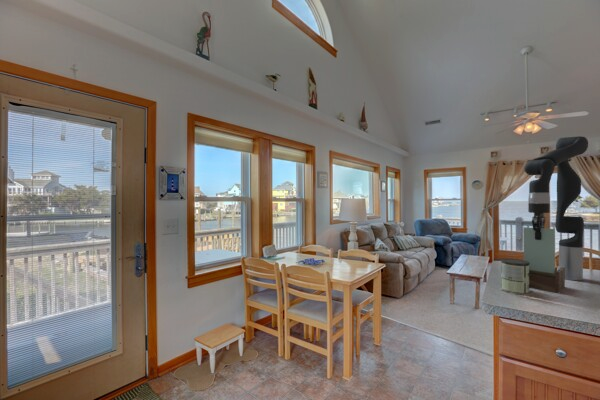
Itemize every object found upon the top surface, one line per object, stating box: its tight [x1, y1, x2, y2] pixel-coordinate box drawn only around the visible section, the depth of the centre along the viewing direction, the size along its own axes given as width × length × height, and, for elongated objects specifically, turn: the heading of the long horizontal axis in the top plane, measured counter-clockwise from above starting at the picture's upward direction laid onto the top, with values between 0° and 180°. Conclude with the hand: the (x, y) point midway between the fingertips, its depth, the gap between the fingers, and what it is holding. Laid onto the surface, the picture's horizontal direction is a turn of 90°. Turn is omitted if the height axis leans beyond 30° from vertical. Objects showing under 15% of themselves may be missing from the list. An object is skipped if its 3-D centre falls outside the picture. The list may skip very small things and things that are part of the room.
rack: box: [529, 267, 566, 294], centre depth 132 cm, size 14×15×10 cm
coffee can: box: [500, 258, 530, 296], centre depth 127 cm, size 10×10×14 cm
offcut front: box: [529, 267, 556, 276], centre depth 131 cm, size 1×11×10 cm, turn 38°
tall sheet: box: [522, 226, 556, 274], centre depth 129 cm, size 1×11×20 cm, turn 38°
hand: (538, 239), depth 129 cm, fingers closed on tall sheet, 1 cm apart
